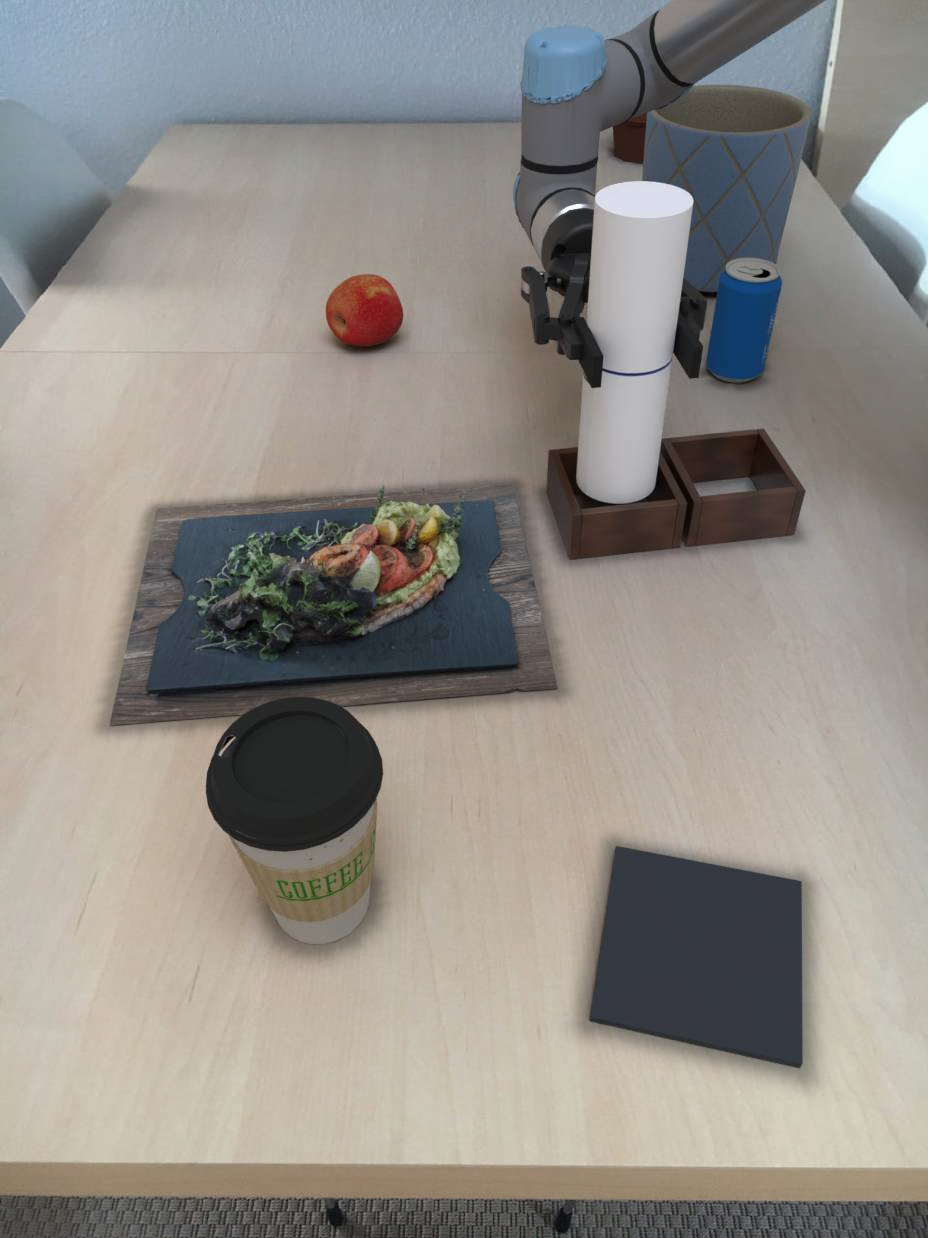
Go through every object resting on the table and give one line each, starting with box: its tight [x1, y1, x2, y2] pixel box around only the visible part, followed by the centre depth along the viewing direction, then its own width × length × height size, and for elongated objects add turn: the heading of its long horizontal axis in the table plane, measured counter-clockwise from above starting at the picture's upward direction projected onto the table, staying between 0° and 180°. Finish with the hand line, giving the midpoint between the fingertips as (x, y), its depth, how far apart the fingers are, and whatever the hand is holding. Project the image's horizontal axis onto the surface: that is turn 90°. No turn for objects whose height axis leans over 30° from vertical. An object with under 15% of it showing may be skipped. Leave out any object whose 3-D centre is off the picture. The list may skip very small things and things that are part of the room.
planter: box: [641, 84, 812, 293], centre depth 124 cm, size 19×19×20 cm
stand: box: [545, 428, 807, 560], centre depth 91 cm, size 21×10×5 cm, turn 98°
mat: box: [589, 845, 804, 1069], centre depth 61 cm, size 12×12×1 cm
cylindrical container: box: [576, 180, 693, 505], centre depth 81 cm, size 7×7×25 cm
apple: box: [325, 273, 404, 347], centre depth 116 cm, size 8×8×8 cm
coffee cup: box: [205, 697, 384, 945], centre depth 59 cm, size 10×10×15 cm
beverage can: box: [705, 258, 783, 384], centre depth 108 cm, size 6×6×12 cm
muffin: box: [612, 113, 647, 164], centre depth 160 cm, size 12×11×10 cm
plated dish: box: [108, 483, 558, 727], centre depth 84 cm, size 35×28×7 cm
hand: (647, 367), depth 76 cm, fingers closed on cylindrical container, 7 cm apart
